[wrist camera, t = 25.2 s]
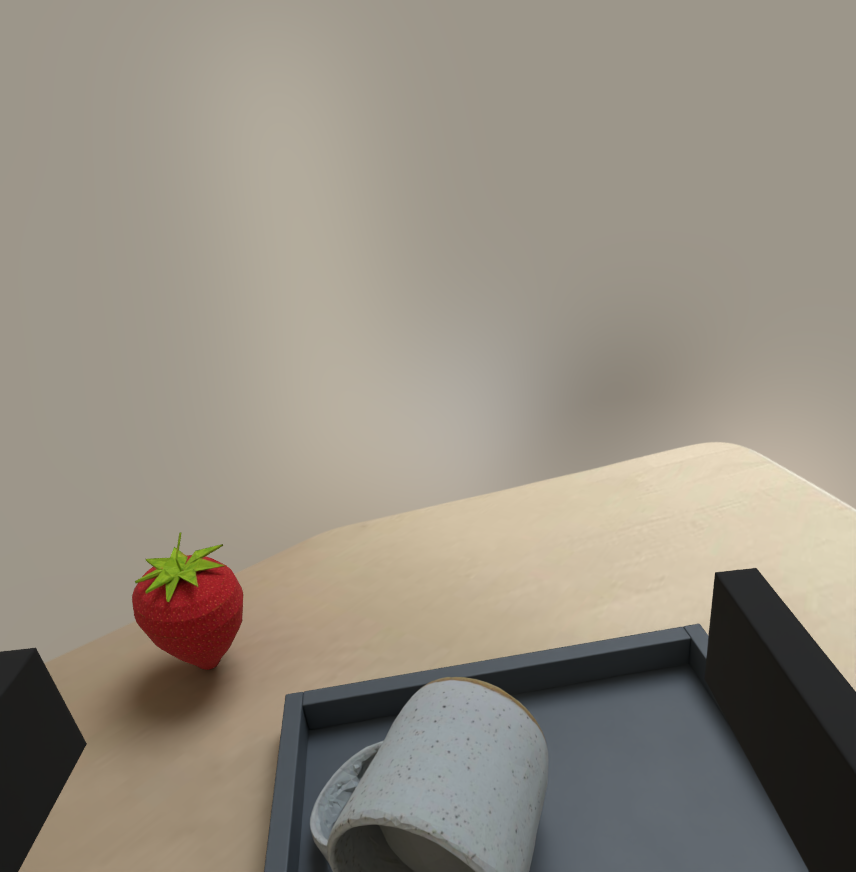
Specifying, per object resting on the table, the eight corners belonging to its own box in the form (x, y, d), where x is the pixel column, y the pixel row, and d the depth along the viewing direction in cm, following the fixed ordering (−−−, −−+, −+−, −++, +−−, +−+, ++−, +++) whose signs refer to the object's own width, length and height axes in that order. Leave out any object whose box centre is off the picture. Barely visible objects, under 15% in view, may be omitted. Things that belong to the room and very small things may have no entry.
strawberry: (211, 617, 45) (170, 500, 41) (283, 653, 41) (247, 527, 36) (138, 674, 41) (85, 550, 36) (211, 721, 37) (161, 587, 32)
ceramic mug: (558, 790, 30) (551, 673, 26) (521, 992, 23) (506, 867, 20) (362, 742, 34) (335, 634, 30) (281, 902, 27) (235, 786, 24)
